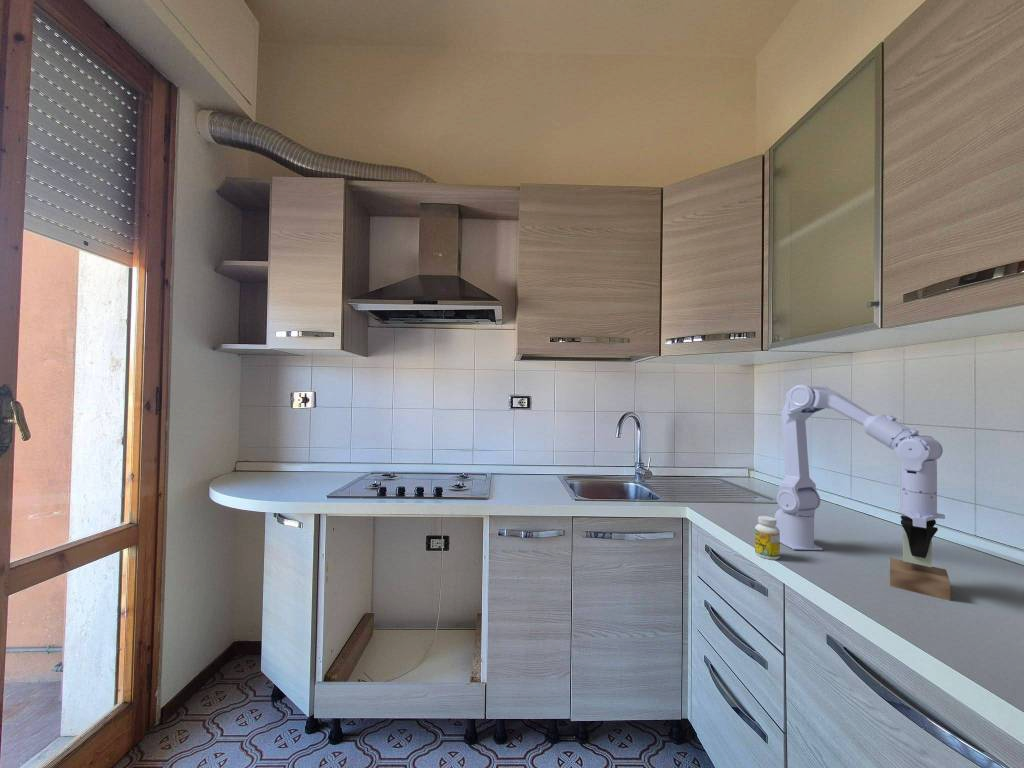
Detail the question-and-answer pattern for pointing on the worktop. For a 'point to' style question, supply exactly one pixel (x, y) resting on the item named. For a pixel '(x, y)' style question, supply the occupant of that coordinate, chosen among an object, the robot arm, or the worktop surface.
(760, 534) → the supplement bottle
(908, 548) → the sage brick
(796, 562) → the worktop surface
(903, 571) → the walnut block
